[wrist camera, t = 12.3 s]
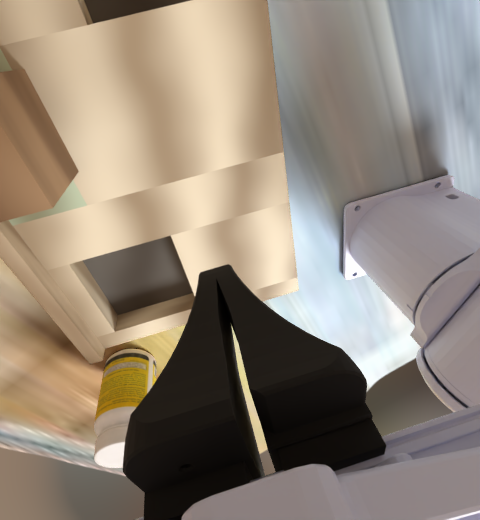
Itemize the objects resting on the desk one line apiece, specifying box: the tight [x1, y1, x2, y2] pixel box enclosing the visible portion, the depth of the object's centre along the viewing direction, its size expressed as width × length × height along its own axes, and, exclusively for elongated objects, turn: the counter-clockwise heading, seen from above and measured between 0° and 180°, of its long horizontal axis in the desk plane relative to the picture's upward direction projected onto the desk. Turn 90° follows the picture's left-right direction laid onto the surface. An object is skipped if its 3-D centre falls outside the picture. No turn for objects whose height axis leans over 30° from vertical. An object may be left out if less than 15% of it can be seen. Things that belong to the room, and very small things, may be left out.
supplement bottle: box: [94, 349, 156, 468], centre depth 26 cm, size 5×5×8 cm
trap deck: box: [0, 0, 299, 364], centre depth 18 cm, size 18×27×3 cm, turn 11°
